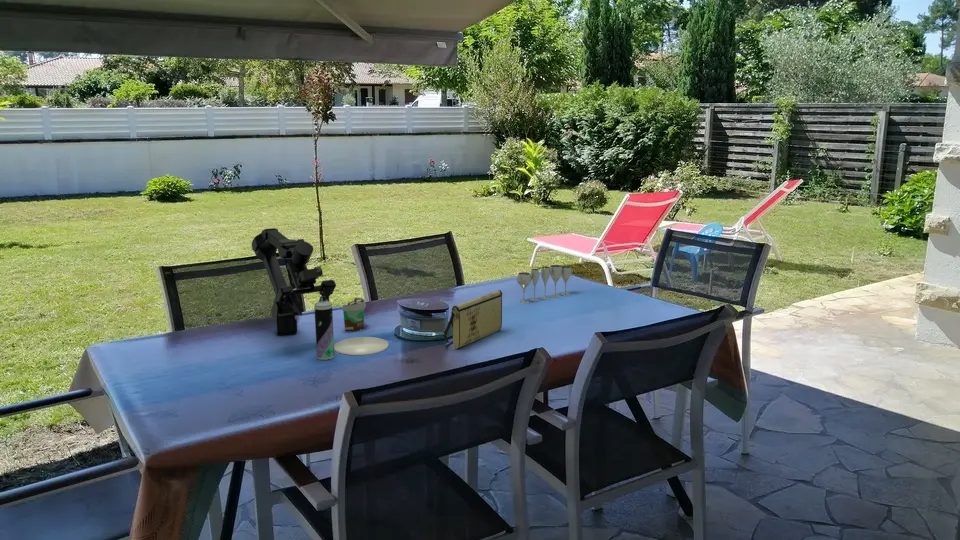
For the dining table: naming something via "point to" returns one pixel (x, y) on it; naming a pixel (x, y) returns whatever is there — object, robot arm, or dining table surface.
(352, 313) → the food container
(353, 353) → the cream round disc
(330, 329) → the spray can
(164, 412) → the dining table surface
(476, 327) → the clutch purse
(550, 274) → the goblet set
